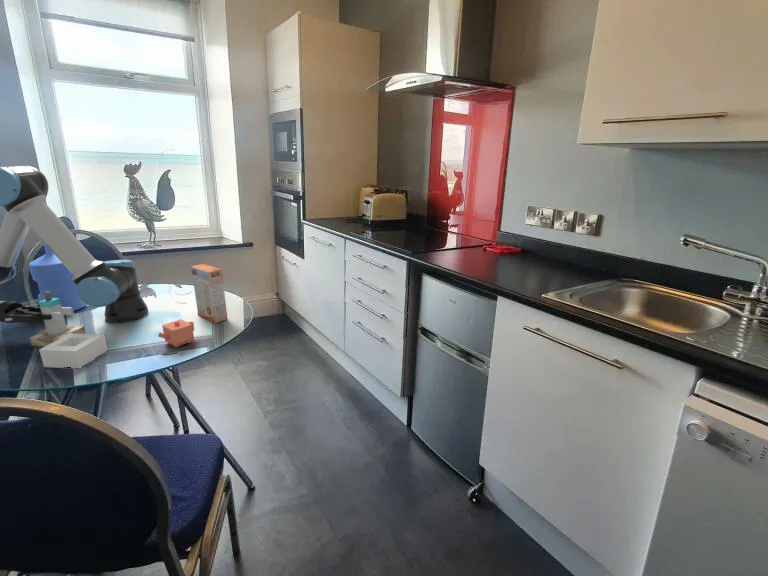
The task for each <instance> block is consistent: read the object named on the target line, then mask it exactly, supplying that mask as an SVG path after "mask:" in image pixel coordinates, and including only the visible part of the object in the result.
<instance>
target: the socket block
mask: <svg viewBox="0 0 768 576" xmlns="http://www.w3.org/2000/svg"><path fill="white" fill-rule="evenodd" d="M107 350H108V347H107V343H106V337H105V334H101V333H100V334H99V333H97V334H96V333H95V334H94V333H86V334H74V333H70V334H68V335H66V336H64V337H62V338H60V339H58V340H57V341H55V342H53V343H51V344H49V345H47V346H42V348H39V349H38V351H39V353H40V357H41V360H42V364H43V367H44V368H55V369H56V368H58V369H59V368H60V369H67V368H66V367H71V368H70V369H76V368H80V367H82V366H83V365H85V364H87V363H88V362H89V361H91V360H92V359H94V358H96V357H97V356H99V355H101V354H102V353H104V352H105V351H107ZM107 352H108V351H107ZM105 353H106V352H105ZM105 353H104V354H105ZM102 355H103V354H102ZM102 355H101V356H102ZM99 357H100V356H99ZM96 359H97V358H96ZM94 360H95V359H94ZM91 362H92V361H91ZM88 364H89V363H88ZM88 364H87V365H88ZM85 366H86V365H85ZM64 367H65V368H64ZM82 368H83V367H82Z"/></svg>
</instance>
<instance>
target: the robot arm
mask: <svg viewBox="0 0 768 576" xmlns="http://www.w3.org/2000/svg"><path fill="white" fill-rule="evenodd" d="M48 193H49V182H48V179H47V177H46V176H45V174H43V172H41V171H40V170H39V169H37V168H36V167H33V166H30V165H27V164H17V165H0V206H2V207H3V208H4V210H5V211H6V213H5V216H4V219H3V220H2V223H1V226H0V285H1V284H4V283H7V282H9V281H11V280H12V279H13V278H15V276H16V275H17V268H16V266H15V264H16V261H17V259H18V257H19V255H20V252H21V250H22V247H23V245H24V243H25V241H26V238H27V235H28V233H29V230H31V231H32V232H33V233H34V234H35V235H36V236H37V237H38V238H39V239H40V241H41V242H43V244H45V245H46V246H47V247H48V248H49V249H50V250H51V251H52V252H53V253H54V254H55V256H56V257H57V258H58V259H59V260H60V261H61V262H62V263H63V264H64V265H65V266H66V267H67V269H68V270H69V271H70V272H71V273H72V274H73V276H72V281H73V282H74V283H75V284H76V285H77V295H78V297H79V298H80V299H81V300H82V301H83V302H84V303H86V305H88V306H91V307H94V308H102V307H103V308H104V307H105V308H104V318H105V321H106V322H109V323H126V322H125V321H127V322H132V321H135V319H136V320H139V319H141V318H140V317H142V318H144V317H145V316H147V315H148V314H149V309H148V305H147V304H146V302H145V300H144V299H143V297H142V295H141V292H140V287H139V282H138V281H139V280H138V277H137V272H136V269H137V268H136V266H135V264H134V261H132V260H130V259H114V260H113V259H112V260H106V261H105V260H104V261H102V260H97V259H96V258H95V257H94V256H93V255H92V253H90V252H89V251H88V249H87V248H86V247H85V245H83V243H81V241H80V240H79V239H78V238H77V237H76V236H75V234H74V233H72V231H71V230H70V229H69V227H67V226H66V225H65V223H64V222H63V221H62V220H61V219H60V218H59V217H58V216H57V214H56V213H55V212H54V211H53V210H52V208H51V207H50V206H49V205H48V204H47V203H46V200H47V196H48ZM34 304H35V305H28V304H25V305H23V304H22V303H21V302H19V301H12V300H11V301H9V300H8V301H7V300H0V324H2V323H5V324H15V323H24V324H26V323H29V324H32V323H33V324H34V323H37V321H38V322H39V323H40V324H41V323H44V320H59V321H62V320H63V316H62V312H41V308H40V305H39V302H36V303H34ZM62 311H63V315H64V316H74V315H75V311H73V308H72V307H62ZM147 313H148V314H147ZM146 314H147V315H146ZM144 315H145V316H144ZM143 316H144V317H143ZM138 318H139V319H138ZM131 320H132V321H131Z"/></svg>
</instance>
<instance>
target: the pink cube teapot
mask: <svg viewBox="0 0 768 576" xmlns="http://www.w3.org/2000/svg"><path fill="white" fill-rule="evenodd" d="M194 324H195V323H194V321H192V320H191V321H186V320H183V319H182V318H181V319H177V320H174V321H171V322H168V323H167V322H166V323H164V324H162V326H161V328H162V332H158V335H157V336H158V338H162V339H164V341H165V342H166V343H168V344H169V345H170V344H171V346H172V347H174V348H175V347H178V346H180V347H181V346H183V345H187V344H186V343H189V342H191V343H192V342H194V341H196V340H195V335H194V332H195V325H194ZM178 348H179V347H178Z"/></svg>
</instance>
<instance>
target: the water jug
mask: <svg viewBox="0 0 768 576" xmlns="http://www.w3.org/2000/svg"><path fill="white" fill-rule="evenodd" d="M42 245H43V247H44V248H43V249H44V251H45V253H44V254H43V255H42V256H39V257H38V258H36V259H34V260H32V261H30V262H29V264H28V267H29V272H30V274H31V277H32V280H33V281H34V282H36V284H37V286H38V290H39V294H38V295H37V298H38V303H39V302H40V301H42V300H45V296H44V292H45V291H50V293H51V296H52V298H59V299H60V303H61V307H72V308H73V312H75V311H78V310H81V309H83V308H85V306H86V305H87V304H86V303H84V302H83V301H82V300H81V299H80V298H79V297H78V295H77V285H76V284H75V283H74V282H73V281H72V276H73V274H72V273H71V272H70V271H69V270H68V269H67V267H66V266H65V265H64V264H63V263H62V262H61V261H60V260H59V259H58V258H57V257H56V256H55V254H54V253H53V252H52V251H51V250H50V249H49V248H48V247H47V246H46V245H45V244H44V243H43V244H42Z"/></svg>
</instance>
